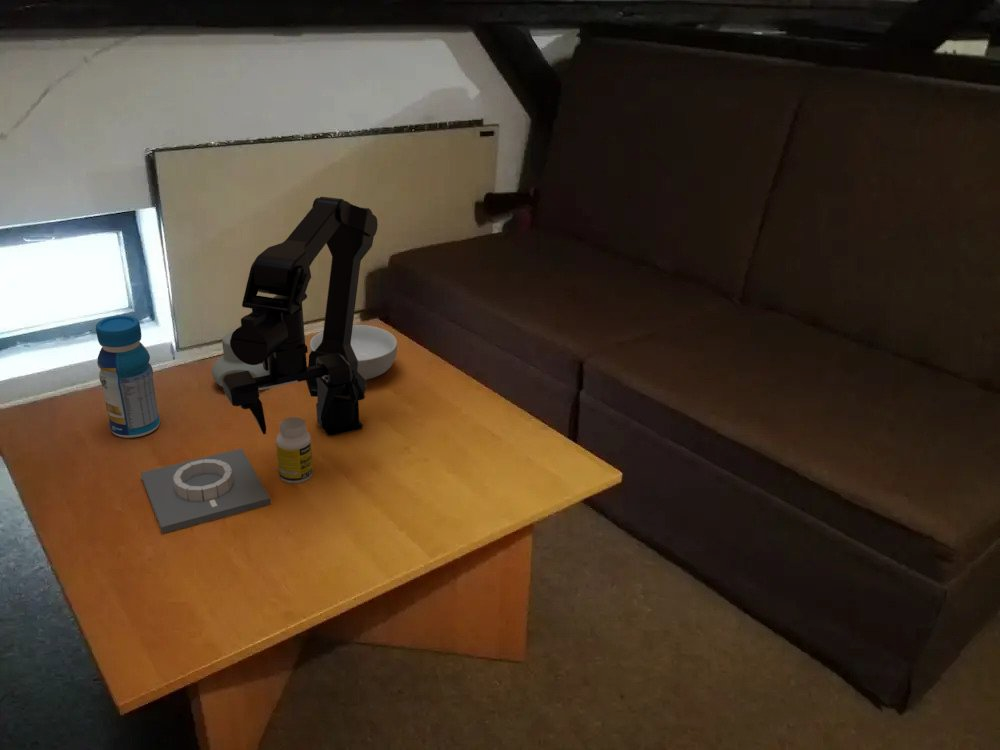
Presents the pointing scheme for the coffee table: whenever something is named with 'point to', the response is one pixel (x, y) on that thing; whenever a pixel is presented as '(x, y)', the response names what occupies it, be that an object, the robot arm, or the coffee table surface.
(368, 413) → the coffee table surface
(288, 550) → the coffee table surface
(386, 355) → the cereal bowl
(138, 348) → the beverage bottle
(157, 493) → the mount plate
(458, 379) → the coffee table surface
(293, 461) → the supplement bottle
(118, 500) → the coffee table surface
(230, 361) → the air freshener
